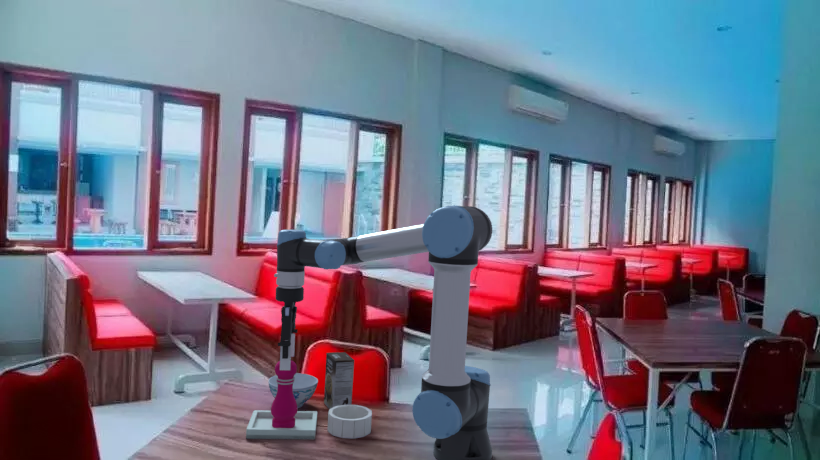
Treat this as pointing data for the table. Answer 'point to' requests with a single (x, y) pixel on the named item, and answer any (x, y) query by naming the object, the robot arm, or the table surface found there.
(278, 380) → the pepper mill
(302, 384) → the chinaware
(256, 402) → the table surface
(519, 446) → the table surface
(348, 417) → the cup
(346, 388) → the coffee box
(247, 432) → the tray
